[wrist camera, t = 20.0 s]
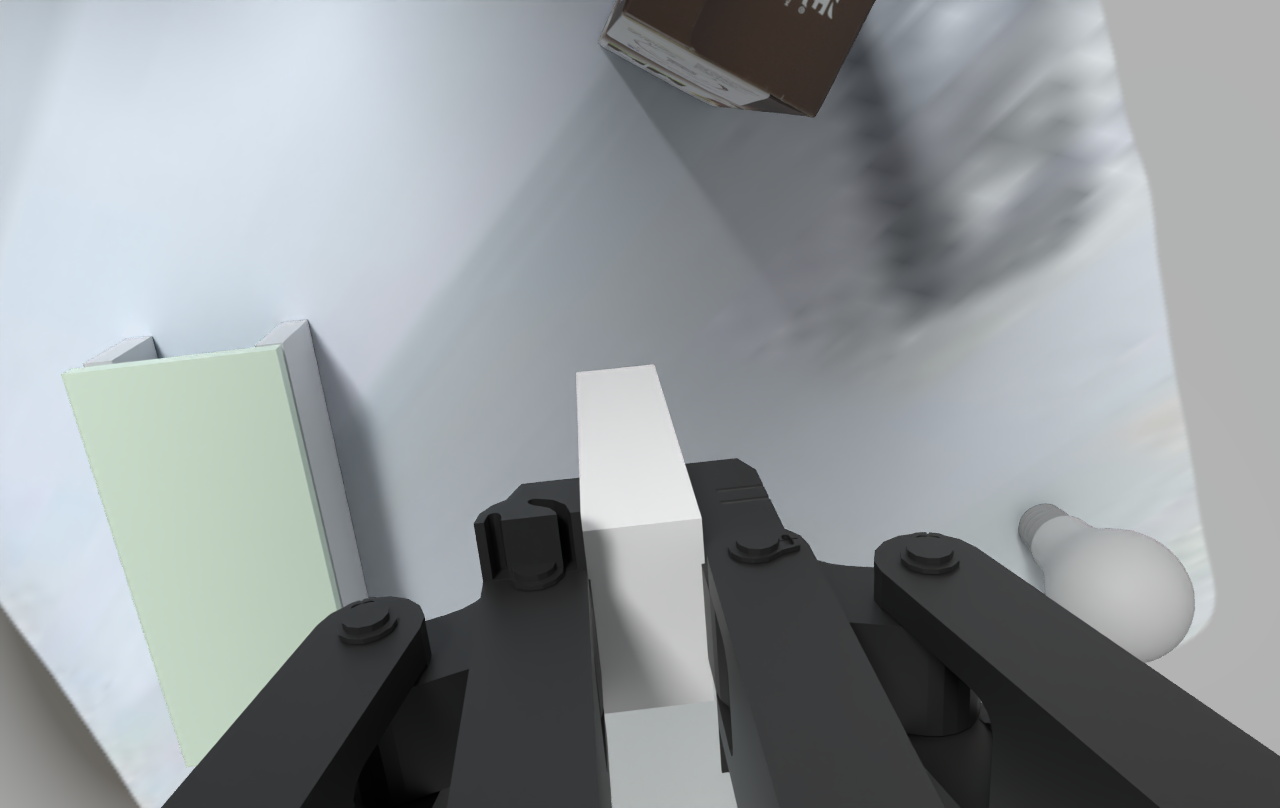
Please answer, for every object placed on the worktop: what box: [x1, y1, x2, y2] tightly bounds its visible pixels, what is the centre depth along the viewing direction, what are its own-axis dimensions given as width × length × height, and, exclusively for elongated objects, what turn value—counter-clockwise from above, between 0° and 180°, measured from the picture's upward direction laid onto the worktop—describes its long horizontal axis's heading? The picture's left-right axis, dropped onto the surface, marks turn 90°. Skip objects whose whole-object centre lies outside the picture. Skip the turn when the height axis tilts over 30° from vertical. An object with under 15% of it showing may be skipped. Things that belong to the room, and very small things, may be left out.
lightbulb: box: [1019, 504, 1195, 663], centre depth 44 cm, size 6×6×11 cm
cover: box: [61, 344, 342, 767], centre depth 42 cm, size 20×9×1 cm, turn 5°
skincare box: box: [604, 680, 737, 808], centre depth 44 cm, size 8×7×16 cm
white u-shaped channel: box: [83, 320, 368, 608], centre depth 45 cm, size 21×8×4 cm, turn 5°
